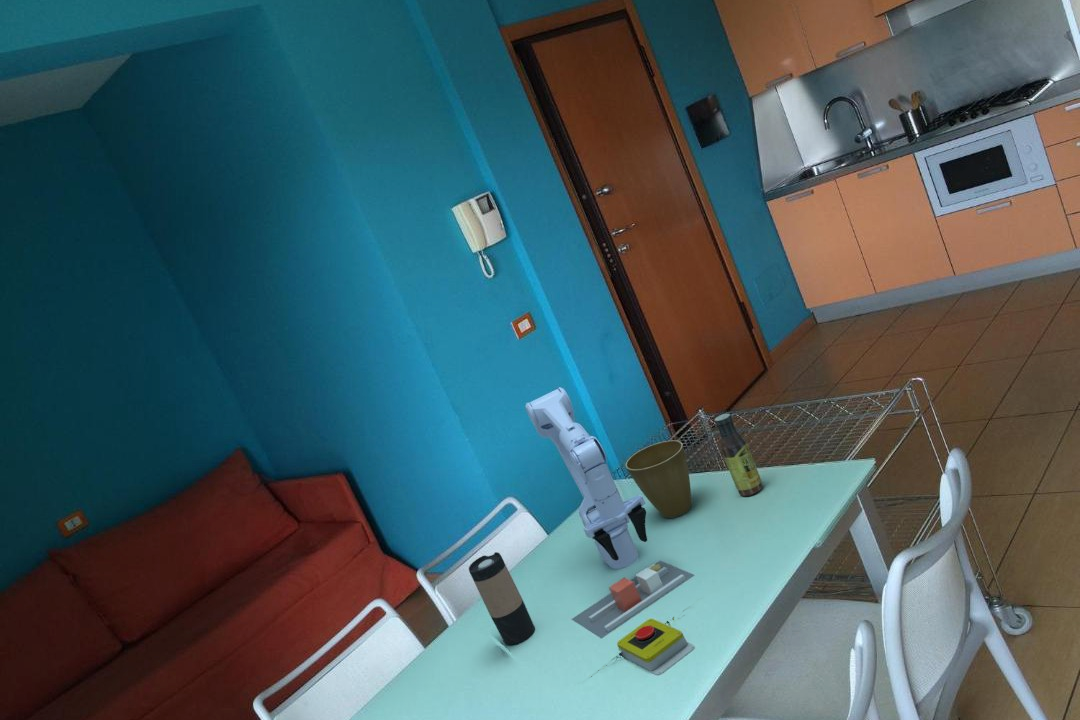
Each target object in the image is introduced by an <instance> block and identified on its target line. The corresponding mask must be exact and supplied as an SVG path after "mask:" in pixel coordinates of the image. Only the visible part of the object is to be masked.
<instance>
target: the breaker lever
mask: <svg viewBox="0 0 1080 720" xmlns="http://www.w3.org/2000/svg"><path fill="white" fill-rule="evenodd" d="M635 577H637V580H638V582H639V584H640V586H641V589H642V591H643V592H645V593H647V594H649V595H652V594H653V593H654V592H656V591H657V590H659V589H660V588H662V587H663V584H662V582H661V579H660V577H659V575H658V573H657V572H656V571H653V570H651V569H649V568H648V567H645V568H644V569H642V570H641V571H639V572H638V573H636V574H635Z"/></svg>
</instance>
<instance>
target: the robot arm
mask: <svg viewBox="0 0 1080 720" xmlns="http://www.w3.org/2000/svg"><path fill="white" fill-rule="evenodd" d="M525 411H526V413H527V414H528V415H527V416H528V417H529V419H530V421H531V423H532V424H533V427H534V428H535V431H536V432H537V434H538V435H539V436H540V438H549V440H551V442H552V443H553V444H554V445H555V446H556V449H557V450H558V452H559V455H560V457H561V458H562V460H563V462H564V464H565V465H566V467H567V469H568V471H569V473H570V475H571V477H572V478H573V480H574V482H575V484H576V486H577V488H578V489H579V492H580V494H581V495H582V497H583V499H582V502H581V503H580V506H579V508H578V514H579V517H580V519H581V521H582V524H583V527H584V528H583V531H584V533H585V536H586V537H588V538H589V539H591V540H594V544H595V546H596V549H597V552H598V553H599V555H600V557H601V560H602V562H603V563H605V564H607V565H609V567H610V568H611V569H613V570H620V569H624V568H626V567H629V566H631V565H632V564H633V563H635V562H636V561H637V560H638V559H639V556H640V555H639V552H638V549H637V547H636V545H635V543H634V541H633V538H632V536H631V533H630V532H629V530H628V529H629V526H628V523H629V524H630V522H631V523H632V525H633V527H634V530H635V532H636V535H637V537H638V538H639V541H641V542H644V543H646V542H648V536H647V531H646V516H647V510H646V508H645V507H643V506H644V505H646V501H645V498H644V496H643V495H640V494H637V495H635V496H633V497H631V498H629V499H627V500H625V501H624V500H623V498H622V496H621V493H620V491H619V489H618V487H617V485H616V483H615V480H614V478H613V476H612V474H611V471H610V469H609V467H608V464H607V462H608V458H607V454H606V452H605V450H604V447H603V446H602V444H601V443H600V441H599V440H598V439H597V437H596V436H593V435H590V434H589V433H588V432H587V431H586V429H585V428H584V427H583V425H581V424H580V423H579V422H575V421H576V420H575V419H576V418H575V413H574V409H573V404H572V401H571V398H570V397H569V395H568V393H567V391H566V390H565V388H563V387H557V389H554V390H553V391H550V392H548V393H547V394H544V395H543V396H540V397H537V398H536V399H534V400H532V401H530V402H526V403H525Z"/></svg>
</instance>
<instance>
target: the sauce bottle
mask: <svg viewBox="0 0 1080 720" xmlns="http://www.w3.org/2000/svg"><path fill="white" fill-rule="evenodd" d="M714 423H715V425H716V427H717V429H718V431H719V434H720V436H721V438H720V445H719V446H720V450H721V453H722V455H723V458H724V460H725V463H726V466H727V468H728V471H729V473H730V476H731V479H732V481H733V484H734V485H735V489H736V490H737V491H738V494H739V495H740V496H742V497H749V496H753V495H755V494H757V493H758V492H760V491H761V490H762V489H763V483H762V478H761V476H760V473H759V470H758V468H757V465H756V463H755V461H754V458H753V455H752V453H751V451H750V447H749V446H748V445H749V444H748V443H747V441H746V440H745V439H744V438H743V437H742V435H741V434H740V433H739V431H737V429H736V427H735V424H734V422H733V417H732V415H731V414H730V413H722V414H721V415H718V416H716V417H715V419H714Z"/></svg>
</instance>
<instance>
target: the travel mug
mask: <svg viewBox="0 0 1080 720" xmlns="http://www.w3.org/2000/svg"><path fill="white" fill-rule="evenodd" d="M468 572H469V574H470V576H471V579H472V580H473V582H474V584H475V587H476V589H477V590H478V593H479V595H480V597H481V599H482V601H483V604H484V606H485V607H486V610H487V612H488V614H489V617H490V618H491V620H492V622H493V624H494V625H495V628H496V629H497V632H498V633H499V635H500V637H501V638H502V640H503V643H504V644H505V646H509V647H514V646H518V645H520V644H522V643H524V642H526V641H527V640H529V639H530V638H532V637H533V636H534V633H535V631H536V627H535V624H534V622H533V620H532V618H531V615H530V613H529V611H528V608H527V607H526V604H525V602H524V600H523V598H522V597H523V596H522V595H521V593H520V592H519V589H518V587H517V586H516V583H515V581H514V579H513V577H512V575H511V573H510V571H509V569H508V567H507V565H506V563H505V561H504V559H503V556H502V555H501V553H500V552H494V553H493V554H491V555H481V556H480V557H478V558H477V559H475V560H473V561H472V563H471V564H470V565H469V566H468Z"/></svg>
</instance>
